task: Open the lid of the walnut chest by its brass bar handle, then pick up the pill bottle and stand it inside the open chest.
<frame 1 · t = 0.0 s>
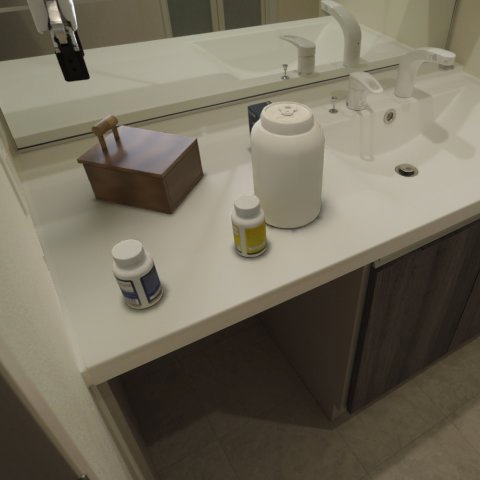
hand: (75, 68, 62), 25 cm above the counter, tool pointing down, fingers open, 9 cm apart
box: (269, 154, 94), on the counter
chest: (152, 186, 83), on the counter
supplement bottle: (251, 248, 72), on the counter
white canister: (288, 209, 80), on the counter
lid: (137, 138, 76), point 11 cm above the counter, hinge at 0.0°
pill bottle: (144, 296, 63), on the counter
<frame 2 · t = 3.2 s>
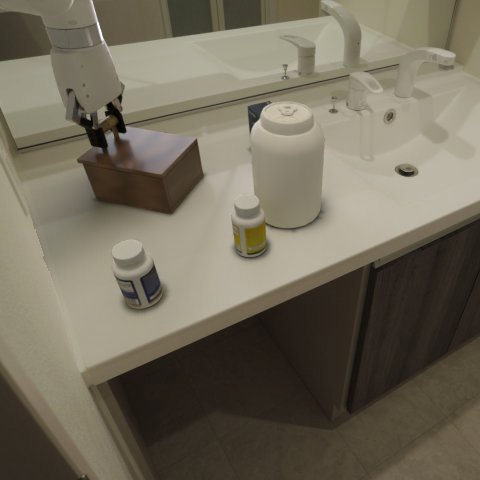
hand: (109, 138, 78), 10 cm above the counter, tool pointing down, fingers closed on lid, 5 cm apart
lid: (137, 138, 76), point 11 cm above the counter, hinge at 0.0°, touching gripper
everything else where it was.
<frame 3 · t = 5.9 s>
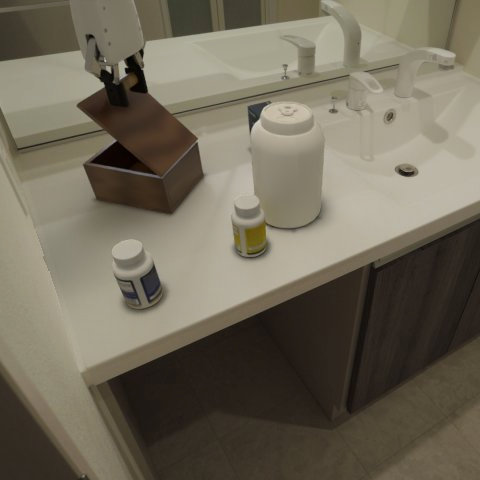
hand: (129, 97, 71), 18 cm above the counter, tool pointing down, fingers closed on lid, 5 cm apart
lid: (149, 116, 72), point 16 cm above the counter, hinge at 42.4°, touching gripper
everything else where it was.
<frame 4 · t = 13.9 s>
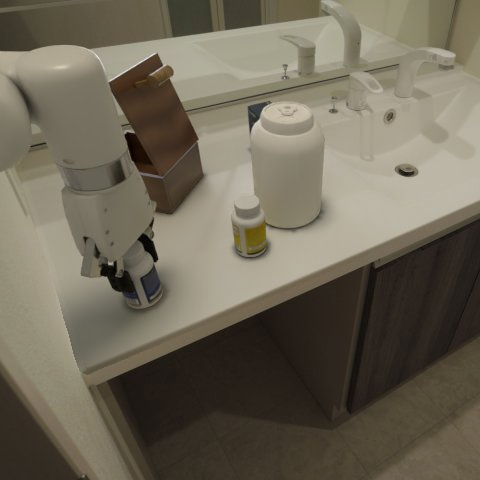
hand: (136, 273, 59), 5 cm above the counter, tool pointing down, fingers closed on pill bottle, 5 cm apart
lid: (169, 112, 71), point 17 cm above the counter, hinge at 71.7°
pill bottle: (144, 296, 63), on the counter, touching gripper
everything else where it was.
when the fingers open (6 cm above the counter, at t = 23.0 s): pill bottle stays where it is, resting on chest.
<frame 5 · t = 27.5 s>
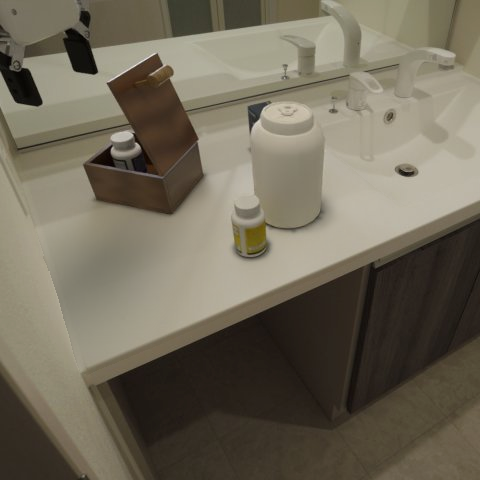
hand: (60, 87, 49), 28 cm above the counter, tool pointing down, fingers open, 9 cm apart
pill bottle: (135, 181, 83), point 1 cm above the counter, touching chest
everything else where it was.
at the end: lid at +72° (first picture: +0°); pill bottle inside the target area in the chest (1.3 cm from its centre), point 0.6 cm above the chest's base; pill bottle tilted 0° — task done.
